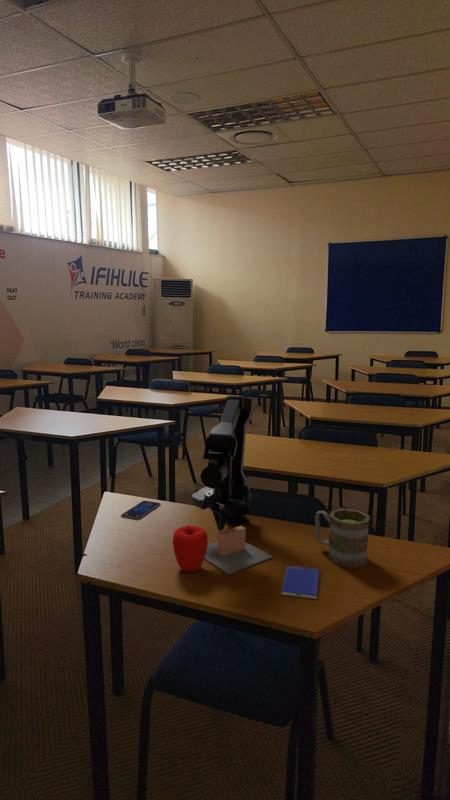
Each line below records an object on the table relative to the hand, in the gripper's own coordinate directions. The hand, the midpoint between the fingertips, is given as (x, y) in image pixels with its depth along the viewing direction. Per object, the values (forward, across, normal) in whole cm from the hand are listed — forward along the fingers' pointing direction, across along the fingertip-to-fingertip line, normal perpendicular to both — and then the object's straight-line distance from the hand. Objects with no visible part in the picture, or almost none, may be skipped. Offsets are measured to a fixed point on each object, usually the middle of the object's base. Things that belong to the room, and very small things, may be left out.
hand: (220, 530), depth 142 cm
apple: (+5, +6, -14) cm, 16 cm away
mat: (+5, +6, -1) cm, 8 cm away
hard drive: (+5, +28, +3) cm, 29 cm away
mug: (+5, +24, +22) cm, 33 cm away
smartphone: (+5, -37, -5) cm, 37 cm away
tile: (+4, +5, 0) cm, 7 cm away
